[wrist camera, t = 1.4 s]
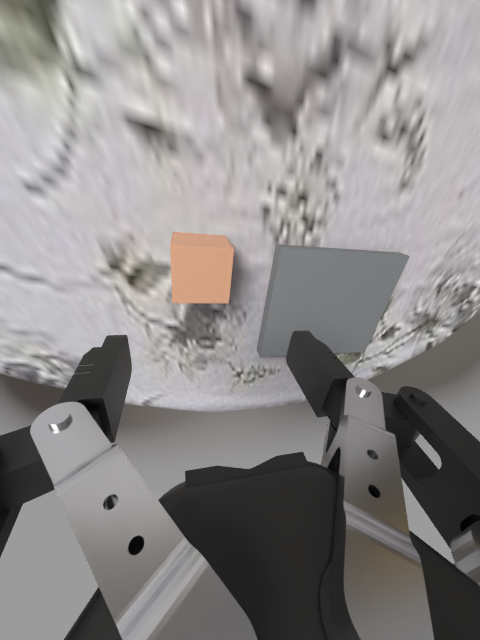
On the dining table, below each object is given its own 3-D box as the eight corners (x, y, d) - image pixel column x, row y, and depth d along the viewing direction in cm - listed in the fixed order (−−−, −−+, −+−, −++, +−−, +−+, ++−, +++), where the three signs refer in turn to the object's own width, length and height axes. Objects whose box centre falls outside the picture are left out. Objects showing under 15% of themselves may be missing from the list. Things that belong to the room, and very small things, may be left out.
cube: (224, 235, 23) (234, 248, 19) (221, 282, 26) (228, 303, 22) (172, 231, 22) (170, 244, 18) (174, 281, 25) (172, 303, 21)
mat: (399, 252, 29) (409, 256, 27) (358, 345, 36) (364, 351, 34) (276, 244, 25) (281, 248, 24) (256, 350, 32) (260, 357, 31)
